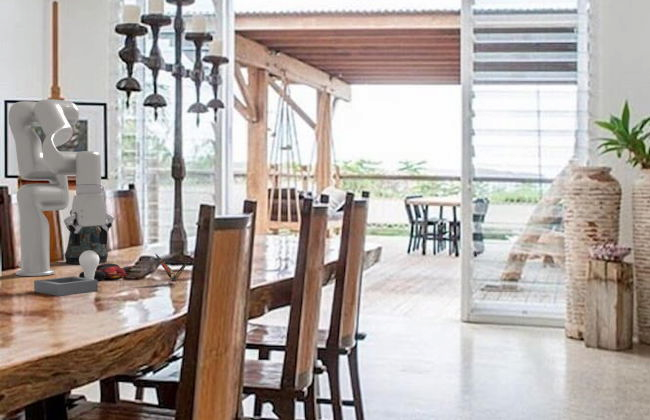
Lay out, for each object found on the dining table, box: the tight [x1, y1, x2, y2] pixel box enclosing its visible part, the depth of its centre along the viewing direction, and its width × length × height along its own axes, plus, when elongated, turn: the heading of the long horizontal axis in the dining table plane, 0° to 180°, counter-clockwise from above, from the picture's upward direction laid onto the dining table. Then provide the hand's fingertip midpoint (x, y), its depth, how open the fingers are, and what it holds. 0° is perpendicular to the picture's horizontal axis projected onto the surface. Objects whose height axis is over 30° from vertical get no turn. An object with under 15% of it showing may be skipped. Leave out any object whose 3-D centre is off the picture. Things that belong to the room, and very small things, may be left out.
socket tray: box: [33, 275, 99, 297], centre depth 226 cm, size 13×13×3 cm
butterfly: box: [155, 253, 193, 286], centre depth 241 cm, size 12×10×10 cm
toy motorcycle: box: [78, 262, 134, 282], centre depth 259 cm, size 25×5×16 cm
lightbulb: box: [79, 250, 100, 279], centre depth 239 cm, size 6×6×11 cm
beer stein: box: [64, 208, 109, 266], centre depth 303 cm, size 16×19×25 cm
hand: (90, 245), depth 238 cm, fingers open, 9 cm apart
